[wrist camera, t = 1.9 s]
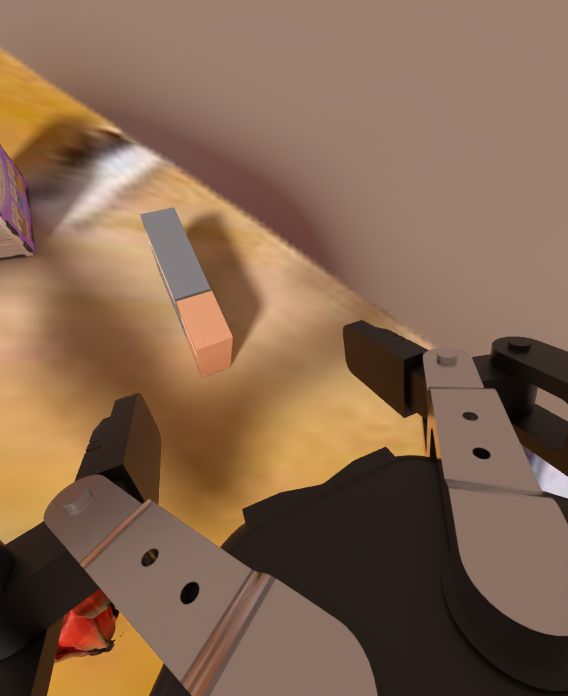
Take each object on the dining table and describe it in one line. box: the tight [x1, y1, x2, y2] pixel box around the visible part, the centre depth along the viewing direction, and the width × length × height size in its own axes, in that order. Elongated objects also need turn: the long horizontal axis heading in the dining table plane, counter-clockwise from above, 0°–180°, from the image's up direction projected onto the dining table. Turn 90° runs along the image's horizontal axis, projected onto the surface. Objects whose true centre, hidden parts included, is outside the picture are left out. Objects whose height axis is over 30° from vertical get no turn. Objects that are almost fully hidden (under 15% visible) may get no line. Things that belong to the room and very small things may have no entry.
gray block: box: [140, 208, 211, 338], centre depth 40 cm, size 12×4×11 cm, turn 26°
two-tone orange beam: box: [176, 291, 233, 377], centre depth 37 cm, size 6×4×11 cm
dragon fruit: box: [54, 588, 126, 663], centre depth 29 cm, size 8×8×12 cm
